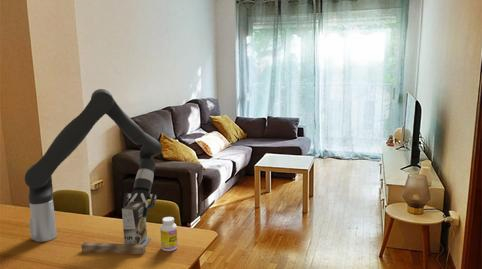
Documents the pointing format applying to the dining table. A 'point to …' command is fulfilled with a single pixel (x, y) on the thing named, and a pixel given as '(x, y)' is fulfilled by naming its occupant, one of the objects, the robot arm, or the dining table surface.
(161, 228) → the supplement bottle
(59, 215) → the dining table surface
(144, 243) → the end mat
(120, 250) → the walnut fence
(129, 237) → the coffee box
